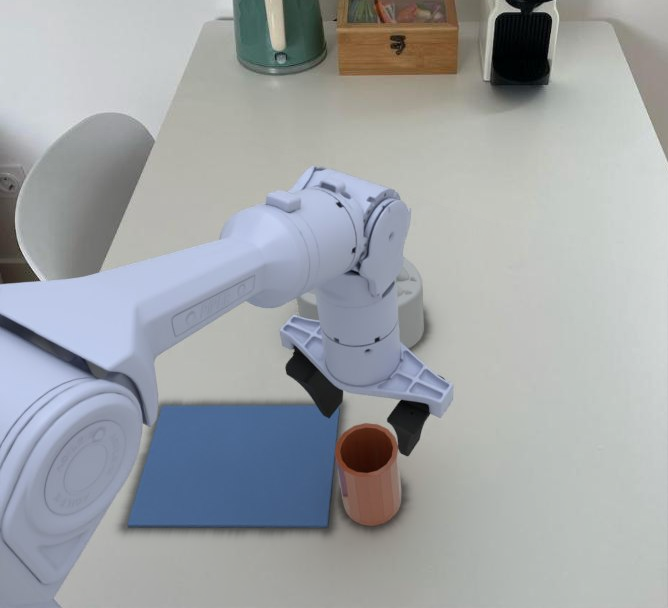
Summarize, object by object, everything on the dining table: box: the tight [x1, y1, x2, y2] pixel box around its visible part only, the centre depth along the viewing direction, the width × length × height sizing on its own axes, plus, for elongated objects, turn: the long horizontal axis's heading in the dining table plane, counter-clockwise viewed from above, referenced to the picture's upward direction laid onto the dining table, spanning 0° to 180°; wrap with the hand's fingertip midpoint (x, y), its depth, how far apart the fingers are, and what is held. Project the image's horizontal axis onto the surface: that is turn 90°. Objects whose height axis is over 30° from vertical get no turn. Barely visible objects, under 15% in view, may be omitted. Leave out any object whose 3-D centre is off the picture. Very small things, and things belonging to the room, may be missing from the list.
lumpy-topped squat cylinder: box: [296, 256, 425, 350], centre depth 87 cm, size 10×13×9 cm
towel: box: [126, 404, 341, 529], centre depth 77 cm, size 18×13×1 cm
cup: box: [335, 422, 402, 527], centre depth 71 cm, size 5×5×8 cm
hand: (370, 426), depth 68 cm, fingers open, 7 cm apart
